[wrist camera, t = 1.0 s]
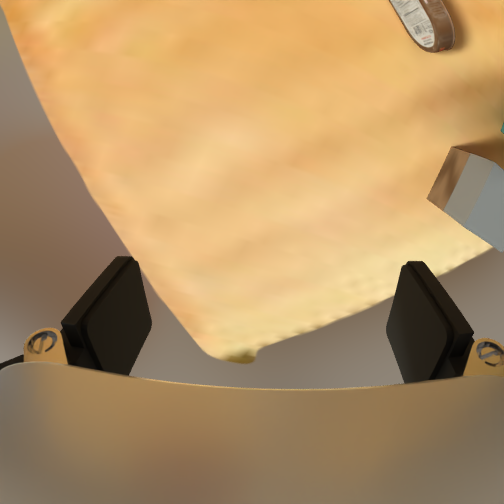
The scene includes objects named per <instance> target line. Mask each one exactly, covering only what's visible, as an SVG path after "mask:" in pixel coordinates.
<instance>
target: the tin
mask: <svg viewBox="0 0 504 504" xmlns="http://www.w3.org/2000/svg"><path fill="white" fill-rule="evenodd" d="M389 2H390V3H391V5H392V6H393V8H394V10H395V12H396V13H397V15H398V17H399V18H400V20H401V22H402V24H403V25H404V27H405V29H406V31H407V32H408V34H409V35H410V37H411V38H412V39H413V41H414V42H415V43H416V44H417V45H418V46H419V47H420V48H422V49H423V50H425V51H427V52H431V53H435V52H439V51H442V50H449V49H451V48H452V47H453V45H454V42H455V30H454V26H453V22H452V19H451V17H450V15H449V13H448V11H447V9H446V7H445V5H444V3H443V2H442V0H389Z"/></svg>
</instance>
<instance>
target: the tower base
mask: <svg viewBox="0 0 504 504" xmlns="http://www.w3.org/2000/svg"><path fill="white" fill-rule="evenodd" d="M469 156H470V153H468V152H465V151H463V150H460V149H457V148H454V147H451V148H450V151H449V153H448V155H447V157H446V159H445V162H444V164H443V166H442V168H441V170H440V172H439V174H438V177H437V179H436V181H435V183H434V185H433V187H432V189H431V191H430V193H429V195H428V197H427V199H428V200H429V201H430V202H432V203H433V204H434V205H436V206H437V207H438V208H440V209H441V210H442V211H443V210H444V208H445V206H446V204H447V202H448V200H449V198H450V196H451V194H452V192H453V190H454V188H455V186H456V184H457V182H458V180H459V178H460V176H461V174H462V171H463V169H464V167H465V165H466V163H467V160H468V158H469Z"/></svg>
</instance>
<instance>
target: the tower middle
mask: <svg viewBox="0 0 504 504" xmlns="http://www.w3.org/2000/svg"><path fill="white" fill-rule="evenodd" d="M443 211H444V212H445V213H447V214H448V215H449V216H451V217H452V218H453V219H454V220H456V221H457V222H458V223H459V224H461V225H462V226H463V227H465V228H466V229H468V230H469V231H471V232H472V233H474V234H475V235H477V236H478V237H480V238H481V239H483V240H484V241H486V242H487V243H489V244H490V245H492V246H493V247H494V248H496V249H497V250H499V251H500V252H503V251H504V170H503V169H502V168H501V167H500V166H499V165H497V164H496V163H495V162H493V161H491V160H488V159H485V158H483V157H480V156H477V155H475V154H472V153H470V156H469V158H468V160H467V163H466V165H465V167H464V169H463V171H462V174H461V176H460V178H459V180H458V182H457V184H456V186H455V188H454V190H453V192H452V194H451V196H450V198H449V200H448V202H447V204H446V206H445V208H444V210H443Z"/></svg>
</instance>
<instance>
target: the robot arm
mask: <svg viewBox="0 0 504 504" xmlns="http://www.w3.org/2000/svg"><path fill="white" fill-rule="evenodd" d="M61 324H62V327H63V329H62V330H61V331H58V330H57V329H54V328H43V329H40V330H38V331H35V332H34V333H33V334H31V335H30V336H29V337H28V338H27V339H26V341H25V343H24V347H23V353H24V354H23V355H20V356H18V357H15V358H13V359H11V360H8V361H5V362H3V363H0V504H504V346H502V345H501V344H500V343H499V342H497V341H495V340H492V339H489V338H482V339H478V340H476V341H474V339H473V338H472V336H473V334H474V331H473V330H472V328H471V327H470V325H469V324H468V322H467V321H466V319H465V318H464V316H463V315H462V313H461V312H460V310H459V309H458V307H457V306H456V305H455V303H454V302H453V300H452V299H451V298H450V296H449V295H448V293H447V292H446V291H445V289H444V288H443V287H442V285H441V284H440V282H439V281H438V280H437V278H436V277H435V276H434V275H433V273H432V272H431V271H430V269H429V268H428V267H427V265H426V264H425V263H424V262H423V261H408V262H407V263H406V265H403V266H402V268H401V272H400V276H399V280H398V284H397V288H396V292H395V296H394V300H393V304H392V308H391V311H390V315H389V319H388V322H387V326H386V333H387V336H388V339H389V341H390V344H391V347H392V350H393V352H394V355H395V358H396V361H397V363H398V366H399V369H400V371H401V374H402V377H403V380H404V384H394V385H383V386H371V387H356V388H334V389H258V388H237V387H221V386H208V385H196V384H187V383H178V382H169V381H161V380H154V379H147V378H140V377H134V376H129V373H130V372H131V369H132V367H133V365H134V363H135V361H136V359H137V357H138V355H139V352H140V350H141V348H142V346H143V344H144V342H145V340H146V338H147V336H148V334H149V332H150V330H151V326H152V320H151V316H150V312H149V308H148V303H147V299H146V295H145V291H144V286H143V282H142V277H141V273H140V267H139V263H138V261H135V260H134V258H133V257H130V256H129V257H128V256H117V257H116V258H115V259H114V260H113V261H112V262H111V263H110V265H109V266H108V267H107V268H106V269H105V270H104V271H103V272H102V274H101V275H100V276H99V277H98V278H97V279H96V280H95V282H94V283H93V284H92V285H91V286H90V287H89V289H88V290H87V291H86V292H85V293H84V294H83V296H82V297H81V298H80V299H79V301H78V302H77V303H76V304H75V305H74V306H73V308H72V309H71V310H70V312H69V313H68V314H67V315H66V316H65V318H64V319H63V320H62V321H61Z"/></svg>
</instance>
